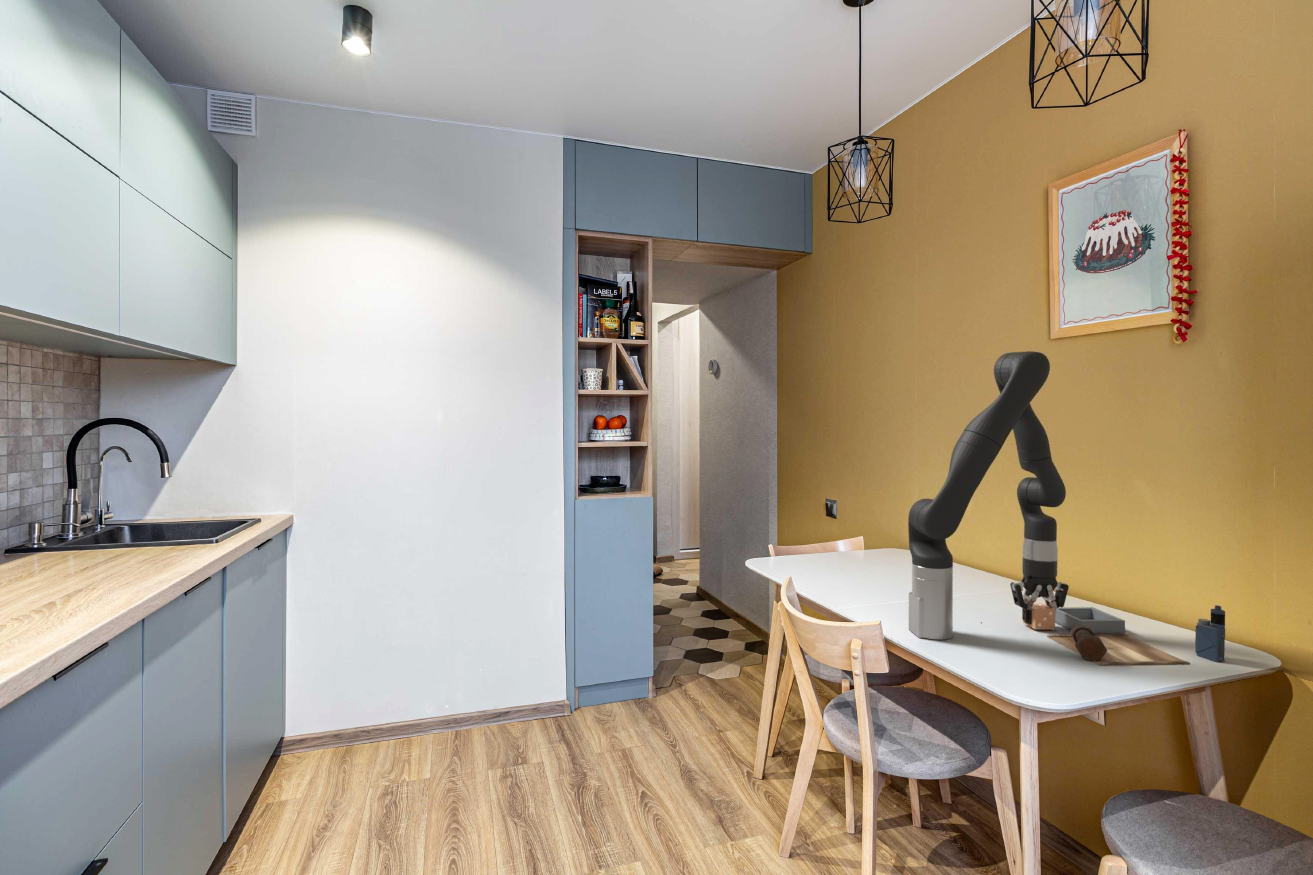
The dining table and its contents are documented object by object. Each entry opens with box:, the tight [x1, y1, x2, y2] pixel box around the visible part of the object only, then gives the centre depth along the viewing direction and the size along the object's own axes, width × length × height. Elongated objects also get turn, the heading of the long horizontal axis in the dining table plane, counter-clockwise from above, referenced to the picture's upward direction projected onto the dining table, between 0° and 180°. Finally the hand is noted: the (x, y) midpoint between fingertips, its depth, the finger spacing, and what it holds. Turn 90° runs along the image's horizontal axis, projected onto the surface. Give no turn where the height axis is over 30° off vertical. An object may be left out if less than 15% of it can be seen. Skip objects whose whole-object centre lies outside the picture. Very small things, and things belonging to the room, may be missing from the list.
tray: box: [1055, 606, 1126, 635], centre depth 157 cm, size 11×11×4 cm
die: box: [1022, 603, 1056, 630], centre depth 157 cm, size 5×5×5 cm
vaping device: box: [1194, 604, 1226, 663], centre depth 136 cm, size 3×5×12 cm, turn 16°
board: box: [1046, 633, 1191, 666], centre depth 142 cm, size 20×18×1 cm
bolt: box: [1069, 624, 1107, 662], centre depth 142 cm, size 6×5×15 cm
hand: (1038, 623), depth 157 cm, fingers closed on die, 5 cm apart
